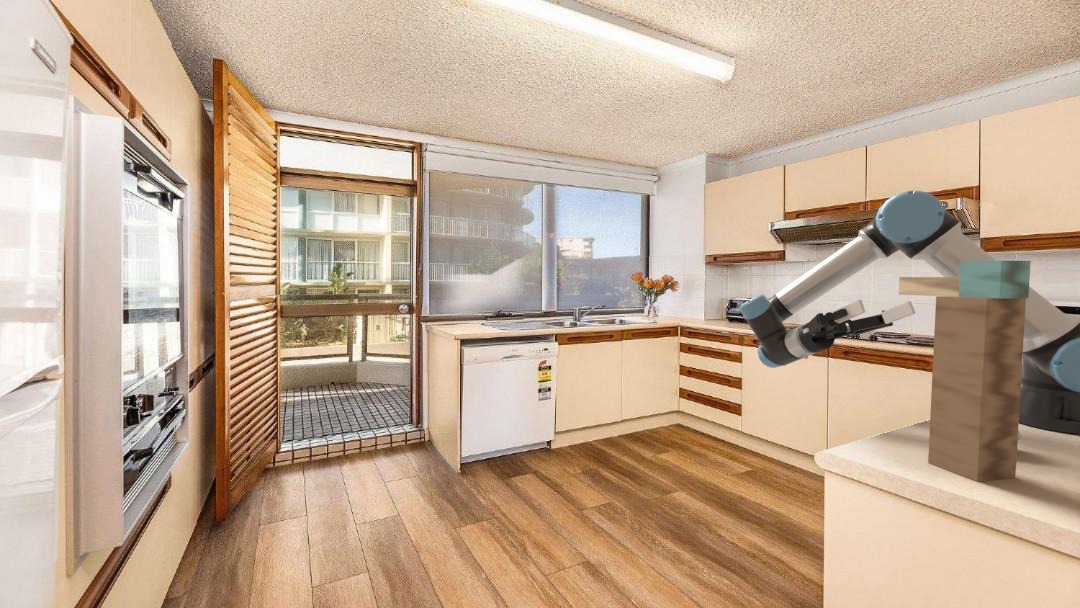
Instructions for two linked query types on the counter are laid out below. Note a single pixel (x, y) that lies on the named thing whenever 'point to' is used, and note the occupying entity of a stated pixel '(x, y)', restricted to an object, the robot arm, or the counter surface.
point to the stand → (976, 386)
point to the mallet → (974, 281)
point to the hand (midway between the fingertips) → (887, 306)
